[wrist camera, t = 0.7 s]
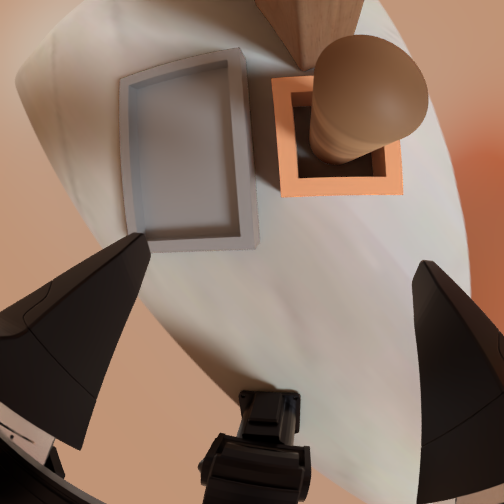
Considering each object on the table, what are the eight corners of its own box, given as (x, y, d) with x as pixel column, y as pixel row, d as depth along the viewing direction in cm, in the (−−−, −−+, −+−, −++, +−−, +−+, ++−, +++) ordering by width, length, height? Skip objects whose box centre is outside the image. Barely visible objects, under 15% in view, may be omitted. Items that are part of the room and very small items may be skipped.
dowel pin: (360, 165, 21) (435, 144, 7) (311, 166, 22) (320, 141, 8) (355, 117, 20) (415, 41, 7) (306, 117, 21) (306, 33, 7)
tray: (260, 242, 24) (254, 249, 21) (145, 247, 26) (130, 253, 24) (245, 59, 20) (239, 47, 18) (134, 85, 22) (119, 79, 20)
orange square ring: (387, 192, 21) (403, 194, 17) (285, 194, 23) (281, 197, 19) (377, 93, 19) (390, 77, 15) (276, 94, 21) (271, 78, 17)
